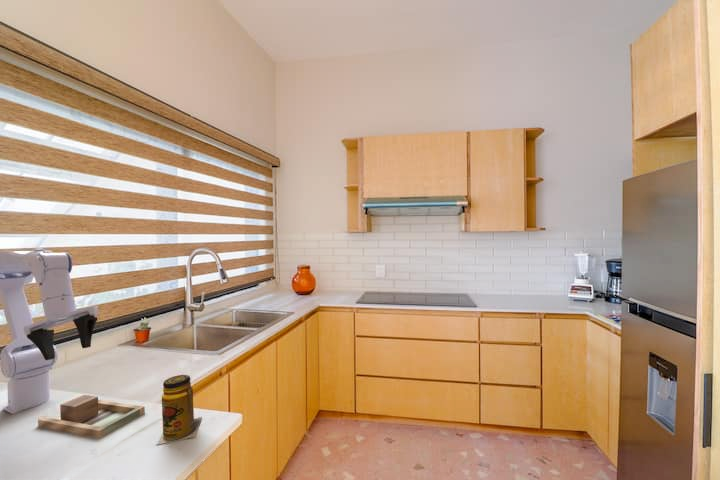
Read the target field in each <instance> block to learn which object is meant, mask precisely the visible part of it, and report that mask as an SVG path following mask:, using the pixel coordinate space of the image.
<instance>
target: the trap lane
mask: <svg viewBox="0 0 720 480" xmlns="http://www.w3.org/2000/svg"><path fill="white" fill-rule="evenodd" d="M143 414H146V413H145V406H144V405H138V404H137V405H136V404H129V403H122V402H117V401H116V402H115V401H107V400H99V399H98V413H97V414H95V415H93V416H91V417H89V418H87V419H85V420H83V421H81V422H79V423H76V422H70V421H64V420H61V415H60V416H58V417H56V418H53V417H46V416H44V417H43V416H42V417H41V418H39V419H37V428H38V427H39V428H45V429H50V430H54V431H60V432H66V433H70V434H71V433H72V434H75V435H81V436H87V437H92V438H97V439H100V438H102V437H103V436H107V435H108V434H109V433H111V432H113V431H114V430H117V429H118V428H120V427H122V426H123V425H125V424H128V423H129V422H131V421H133V420H134V419H136V418H138V417H140V416H141V415H143Z"/></svg>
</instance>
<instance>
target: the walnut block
mask: <svg viewBox="0 0 720 480" xmlns="http://www.w3.org/2000/svg"><path fill="white" fill-rule="evenodd" d="M98 400H99V396H96V395H89V394H82V395H79V396H78V397H75V398H72V399H70V400H68V401H65V402H63V403H61V404H59V405H60V406H59V407H60V408H59V409H60V410H59V411H60V412H59V413H60V416H61V420H64V421H70V422H76V423H79V422H81V421H83V420H85V419H87V418H89V417H91V416H93V415H95V414H97V413H98Z"/></svg>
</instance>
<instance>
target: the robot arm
mask: <svg viewBox="0 0 720 480" xmlns="http://www.w3.org/2000/svg"><path fill="white" fill-rule="evenodd" d="M72 269H73V258H72V256H71V254H70V253H68V252H67V251H64V252H52V250H45V249H44V248H34V249H33V250H21V251H19V250H18V251H17V250H16V251H15V250H14V251H0V302H1V305H2V309H3V314H4V316H5V320H6V324H7V328H8V331H9V334H10V337H11V342H10V343H8V344H7V345H5V347H4V348H3V349H2V350H1V352H0V371H1V374H2V376H3V377H4V378H6V379H9V380H8V381H7V382H8V383H7V405H6V406H3V407H2V410H5V412H7V413H10V414H12V415H13V414H16V413H18V412H21V411H24V410H25V409H26V410H27V409H31V408H33V407H37V406H39V405H40V406H41V405H42V404H44V403H47V402H48V401H50V400H51V399H53V398H52V397H51V394H50V393H51V392H50V388H51V387H50V385H51V384H50V370H51V371H52V370H53V367H54V366H55V364H56V363H57V362H58V358H59V354H58V349H57V347H56V346H55V344H54V336H55V330H54V329H53V328H54V327H58V326H59V327H60V326H62V325H65V324H67V323H71V322H73V323H74V326H75V327H76V329H77V332H78V336H79V342H80V345H81V348H82V349H87V348H88V349H89V348H90V347H92V346H91V345H92V338H93V332H94V328H95V325H96V323H97V321H98V317H97V315H99V314H100V312H99V309H98V308H99V307H98V306H90V307H85V308H82V309H78V310H77V307H76V300H75V295H74V291H73V286H72V285H73V284H72V280H71V275H70V273H72ZM33 279H35V284H36V285H38V286H39V292H40V295H41V296H40V297H41V301H42V308H43V314H44V319H42V320H40V321H37V322H34V321H33V317H32V314H31V310H30V306H29V303H28V300H27V297H26V294H25V290H24V287H25V286H26V285H29V284H31V283H32V282H33Z"/></svg>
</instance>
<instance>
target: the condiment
mask: <svg viewBox="0 0 720 480" xmlns="http://www.w3.org/2000/svg"><path fill="white" fill-rule="evenodd" d="M162 385H163V389H162V391H163V392H162V395H161V408H162V409H161V413H162V414H161V416H162V418H161V419H162V434H161V436H160V437H159V439H158V441H157V443H156V445H161V444H168V443H173V442H177V441H182V440H186V439H190V438H196V435H197V433H198V429H199V426H200V424H201V421H202V417H203V416H200V417H196V418H195V413H194V390H193V389H194V388H193V387H192V383H191V377H190V375H189V374H188V375H187V374H177V375H173V376H172V377H168V378H167V379H165V380H164V381H163V384H162Z"/></svg>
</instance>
